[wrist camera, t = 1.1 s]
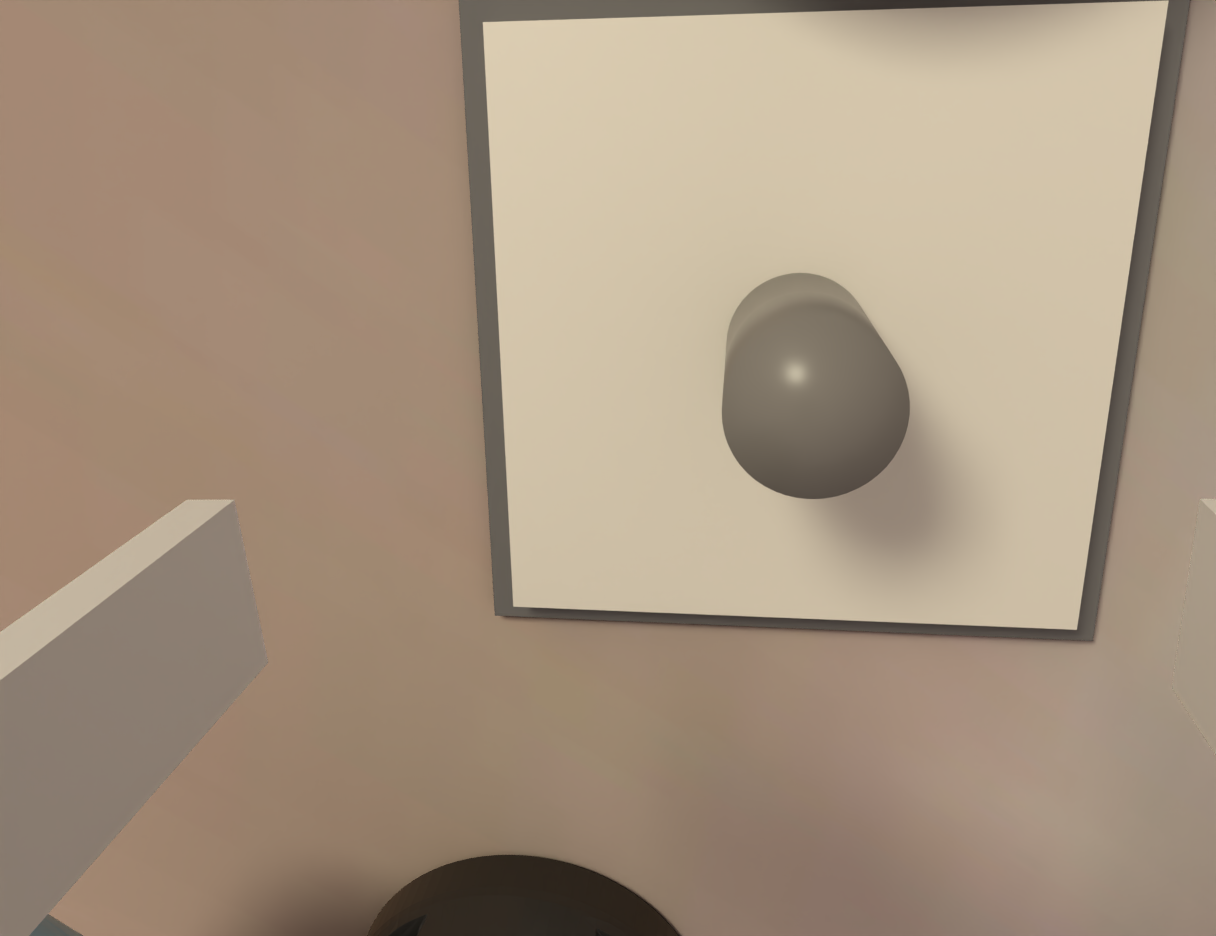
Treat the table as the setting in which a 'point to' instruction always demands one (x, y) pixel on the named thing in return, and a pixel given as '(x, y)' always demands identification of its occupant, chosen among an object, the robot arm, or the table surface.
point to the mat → (561, 3)
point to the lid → (814, 305)
